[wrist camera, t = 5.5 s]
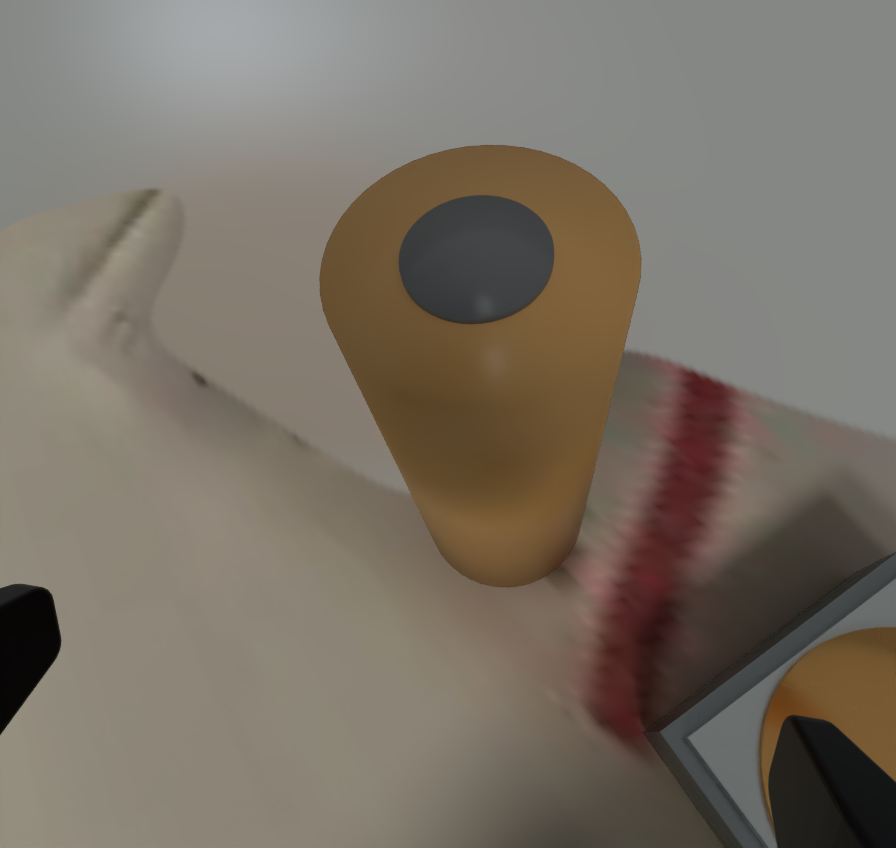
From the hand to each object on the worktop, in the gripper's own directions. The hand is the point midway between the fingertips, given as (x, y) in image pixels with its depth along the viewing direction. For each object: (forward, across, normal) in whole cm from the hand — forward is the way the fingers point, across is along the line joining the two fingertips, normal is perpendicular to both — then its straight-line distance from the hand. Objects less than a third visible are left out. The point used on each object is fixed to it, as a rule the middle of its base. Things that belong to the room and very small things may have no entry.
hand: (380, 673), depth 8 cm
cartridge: (+13, 0, +4) cm, 14 cm away
